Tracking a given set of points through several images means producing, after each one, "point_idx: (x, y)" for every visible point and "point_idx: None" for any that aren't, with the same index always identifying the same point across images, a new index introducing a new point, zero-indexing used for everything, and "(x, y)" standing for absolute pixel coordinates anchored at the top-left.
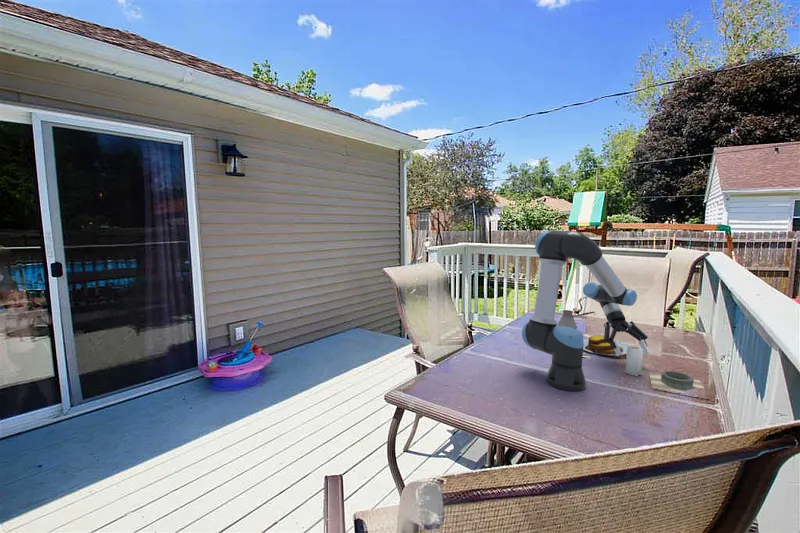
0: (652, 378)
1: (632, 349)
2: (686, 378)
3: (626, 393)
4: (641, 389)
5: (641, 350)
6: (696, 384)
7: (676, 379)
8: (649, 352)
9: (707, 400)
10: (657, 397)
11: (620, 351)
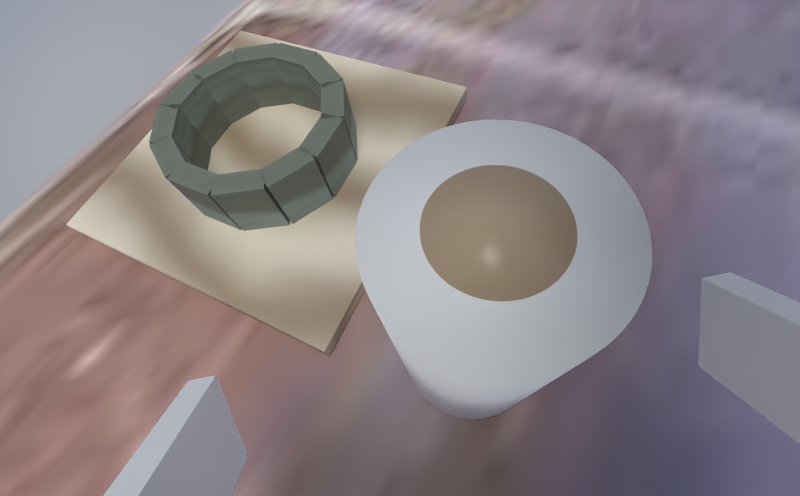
0: None
1: (583, 146)
2: (187, 138)
3: (644, 34)
4: (531, 90)
5: (432, 136)
6: (152, 162)
7: (305, 54)
8: (195, 379)
9: None
10: (485, 25)
11: (739, 291)
